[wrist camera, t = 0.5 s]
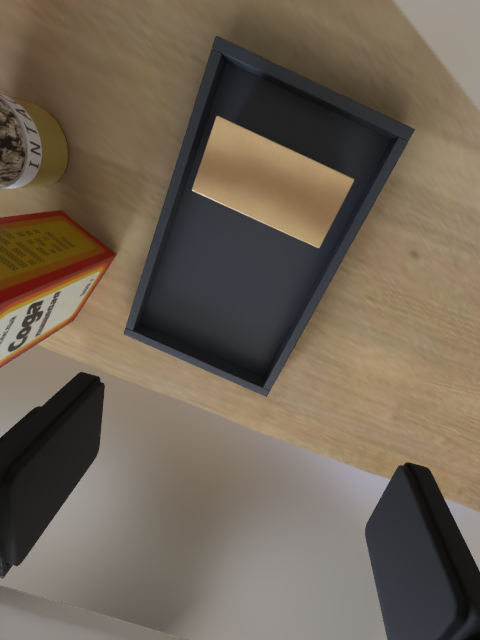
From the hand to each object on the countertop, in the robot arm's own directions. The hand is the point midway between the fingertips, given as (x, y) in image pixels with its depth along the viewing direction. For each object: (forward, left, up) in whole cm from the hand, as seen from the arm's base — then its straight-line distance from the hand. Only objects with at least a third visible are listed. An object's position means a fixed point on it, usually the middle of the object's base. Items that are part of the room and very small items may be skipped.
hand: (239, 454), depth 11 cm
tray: (-1, -3, -24) cm, 24 cm away
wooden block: (-7, -3, -23) cm, 24 cm away
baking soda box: (+9, -19, -24) cm, 32 cm away
